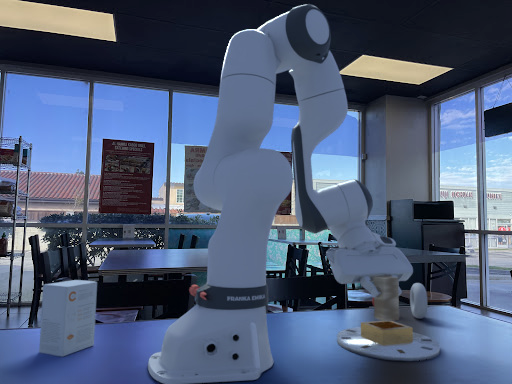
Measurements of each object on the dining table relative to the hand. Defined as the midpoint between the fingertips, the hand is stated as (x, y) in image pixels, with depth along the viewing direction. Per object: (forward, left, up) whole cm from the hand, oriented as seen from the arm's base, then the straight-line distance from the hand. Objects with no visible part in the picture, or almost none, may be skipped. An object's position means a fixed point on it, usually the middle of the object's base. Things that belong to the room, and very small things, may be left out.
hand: (388, 295), depth 86 cm
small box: (-64, +19, -11) cm, 68 cm away
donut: (+27, +19, -11) cm, 34 cm away
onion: (+20, +26, -11) cm, 34 cm away
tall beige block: (0, +1, -5) cm, 5 cm away
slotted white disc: (0, +1, -11) cm, 11 cm away
